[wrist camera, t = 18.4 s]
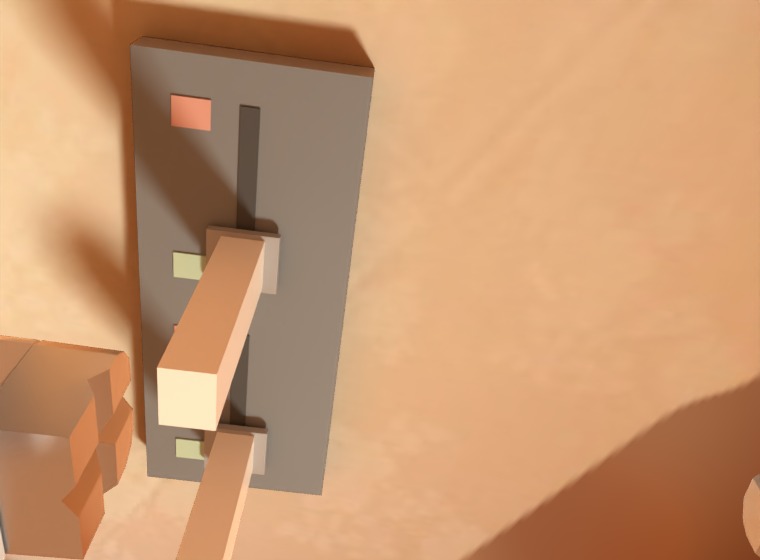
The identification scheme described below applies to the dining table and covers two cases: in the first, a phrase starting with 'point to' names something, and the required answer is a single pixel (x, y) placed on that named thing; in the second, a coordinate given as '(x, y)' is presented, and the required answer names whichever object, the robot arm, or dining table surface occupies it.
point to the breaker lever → (223, 490)
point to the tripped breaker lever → (215, 326)
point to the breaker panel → (255, 213)
